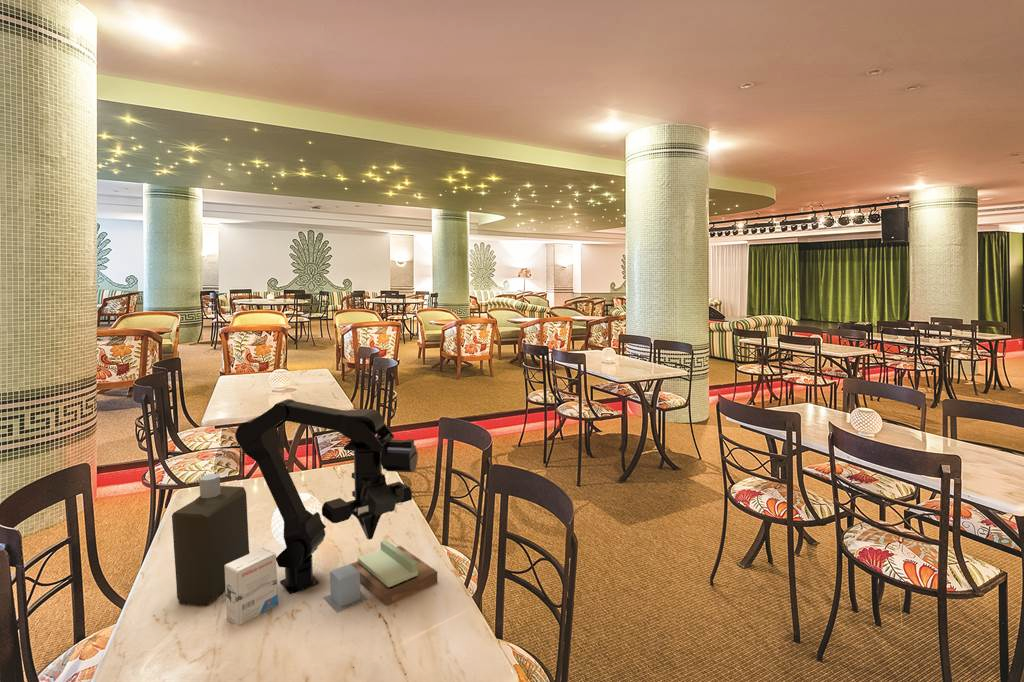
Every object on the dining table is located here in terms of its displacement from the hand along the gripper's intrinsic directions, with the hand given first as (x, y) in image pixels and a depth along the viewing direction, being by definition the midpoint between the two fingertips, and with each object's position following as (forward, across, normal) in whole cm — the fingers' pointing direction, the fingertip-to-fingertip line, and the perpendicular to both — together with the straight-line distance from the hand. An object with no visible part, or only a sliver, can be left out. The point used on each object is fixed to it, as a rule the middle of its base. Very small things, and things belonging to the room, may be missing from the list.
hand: (369, 538), depth 118 cm
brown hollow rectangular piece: (+12, +6, 0) cm, 13 cm away
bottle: (+12, -25, +24) cm, 37 cm away
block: (+11, -6, 0) cm, 13 cm away
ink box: (+12, -22, +8) cm, 26 cm away
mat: (+12, -6, 0) cm, 13 cm away
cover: (+8, +4, 0) cm, 9 cm away
